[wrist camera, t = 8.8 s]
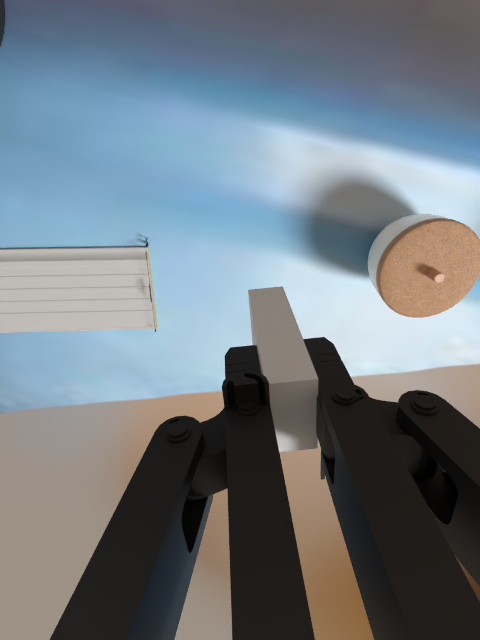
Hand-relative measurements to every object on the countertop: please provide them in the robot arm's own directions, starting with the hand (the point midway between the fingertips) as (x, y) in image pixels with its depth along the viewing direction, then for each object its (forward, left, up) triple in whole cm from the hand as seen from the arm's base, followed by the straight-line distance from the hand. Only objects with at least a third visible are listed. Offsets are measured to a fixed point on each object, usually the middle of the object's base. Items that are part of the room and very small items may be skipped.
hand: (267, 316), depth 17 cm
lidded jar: (+8, +19, -29) cm, 35 cm away
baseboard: (+8, -27, -29) cm, 40 cm away
